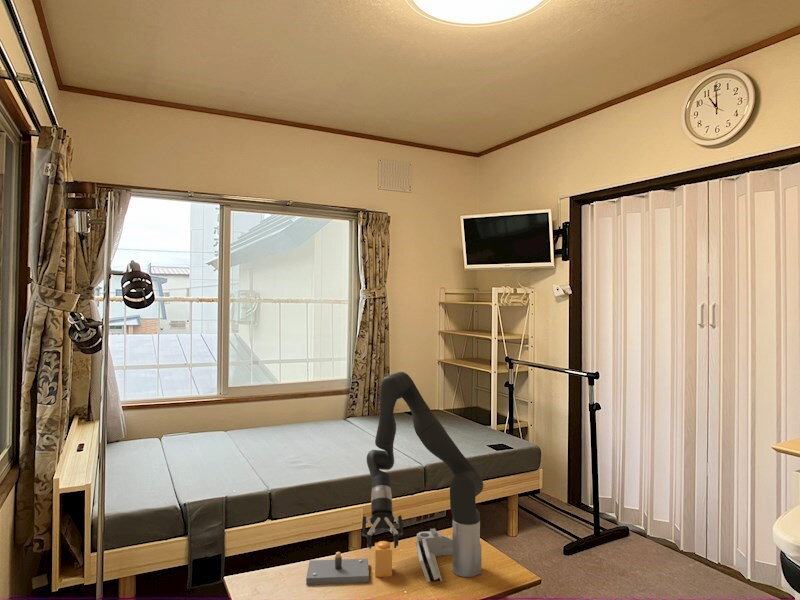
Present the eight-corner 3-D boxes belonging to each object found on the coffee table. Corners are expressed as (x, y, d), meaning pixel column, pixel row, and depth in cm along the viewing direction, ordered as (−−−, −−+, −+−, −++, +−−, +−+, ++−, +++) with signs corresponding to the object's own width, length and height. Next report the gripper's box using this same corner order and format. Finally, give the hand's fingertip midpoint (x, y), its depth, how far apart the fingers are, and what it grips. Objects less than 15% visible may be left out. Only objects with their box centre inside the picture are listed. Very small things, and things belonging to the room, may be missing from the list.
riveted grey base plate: (367, 564, 184) (367, 543, 184) (368, 582, 172) (368, 560, 172) (309, 566, 183) (309, 545, 183) (306, 584, 171) (306, 562, 171)
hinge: (442, 582, 173) (432, 553, 173) (428, 587, 172) (418, 558, 172) (435, 557, 189) (426, 531, 189) (423, 562, 189) (413, 536, 189)
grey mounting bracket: (467, 553, 193) (467, 531, 193) (418, 558, 189) (418, 535, 189) (462, 546, 199) (462, 525, 199) (415, 551, 195) (415, 529, 195)
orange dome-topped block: (390, 568, 182) (390, 539, 182) (391, 576, 176) (392, 546, 176) (374, 568, 181) (374, 540, 181) (375, 576, 176) (375, 547, 176)
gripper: (362, 497, 189) (362, 543, 178) (401, 496, 190) (404, 542, 179) (361, 506, 194) (361, 552, 183) (400, 505, 195) (403, 551, 184)
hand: (382, 547), depth 181 cm, fingers open, 8 cm apart
